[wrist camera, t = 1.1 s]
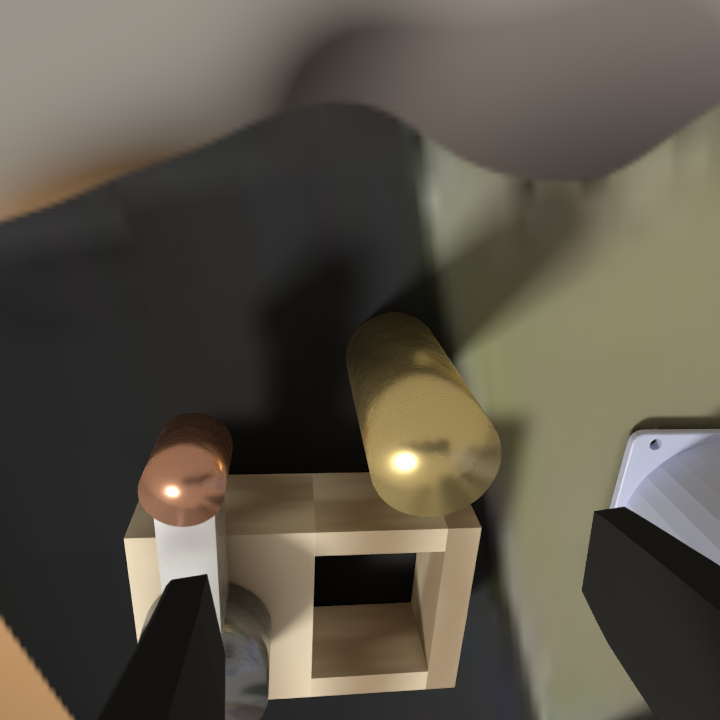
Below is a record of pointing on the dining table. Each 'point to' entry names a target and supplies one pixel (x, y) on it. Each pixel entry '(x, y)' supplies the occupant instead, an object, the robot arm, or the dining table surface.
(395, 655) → the birch block
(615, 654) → the robot arm
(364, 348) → the brass pin
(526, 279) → the dining table surface
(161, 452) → the copper tipped joystick
